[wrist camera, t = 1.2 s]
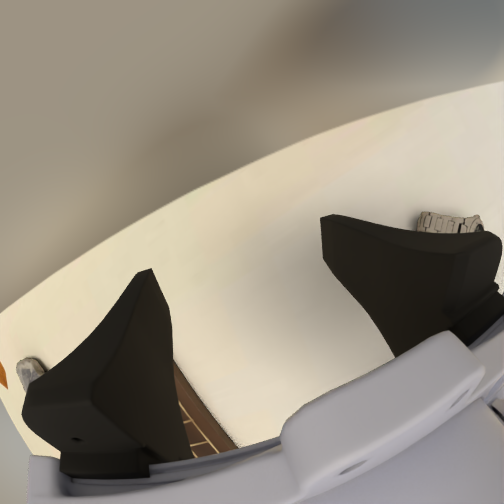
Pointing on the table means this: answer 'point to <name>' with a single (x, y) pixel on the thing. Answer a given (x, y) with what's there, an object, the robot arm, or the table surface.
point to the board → (199, 421)
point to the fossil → (28, 371)
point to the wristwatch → (448, 223)
